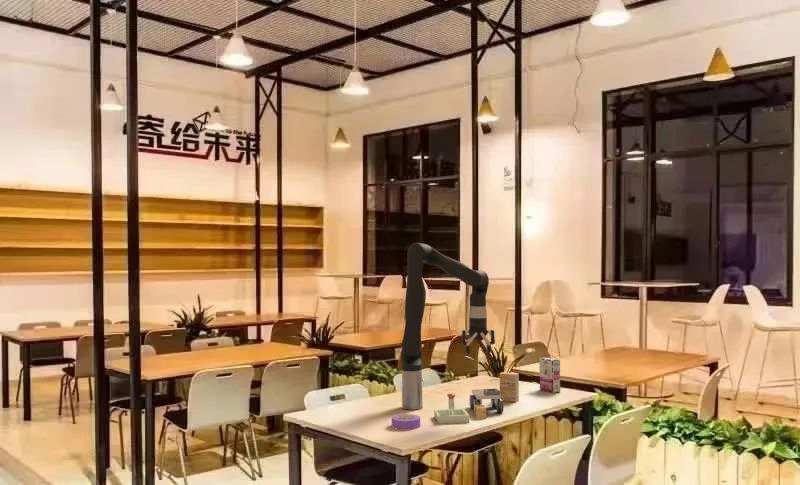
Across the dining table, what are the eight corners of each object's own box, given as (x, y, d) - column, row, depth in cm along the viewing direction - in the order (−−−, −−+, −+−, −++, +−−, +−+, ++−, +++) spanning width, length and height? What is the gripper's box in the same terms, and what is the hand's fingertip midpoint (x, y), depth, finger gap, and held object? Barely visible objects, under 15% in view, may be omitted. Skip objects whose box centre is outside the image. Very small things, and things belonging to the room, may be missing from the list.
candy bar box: (561, 392, 339) (560, 359, 339) (553, 393, 336) (552, 360, 337) (547, 388, 349) (546, 356, 349) (539, 389, 347) (538, 357, 347)
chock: (474, 415, 292) (474, 405, 292) (483, 415, 292) (483, 404, 293) (477, 418, 286) (476, 408, 286) (486, 418, 286) (486, 407, 287)
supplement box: (499, 401, 320) (498, 373, 321) (502, 399, 325) (502, 371, 325) (516, 402, 316) (515, 374, 317) (519, 400, 321) (518, 372, 321)
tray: (438, 423, 278) (438, 416, 278) (434, 416, 290) (434, 409, 290) (469, 422, 279) (469, 415, 279) (464, 415, 291) (464, 408, 291)
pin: (448, 418, 283) (448, 395, 283) (447, 416, 286) (446, 393, 287) (456, 418, 283) (455, 395, 284) (454, 416, 287) (454, 393, 287)
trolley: (476, 414, 293) (476, 392, 293) (469, 406, 309) (469, 385, 309) (503, 413, 294) (503, 392, 294) (495, 406, 310) (495, 385, 310)
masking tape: (426, 426, 275) (426, 416, 276) (406, 431, 267) (406, 422, 267) (405, 421, 283) (405, 412, 284) (385, 427, 275) (385, 417, 275)
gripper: (492, 315, 297) (492, 352, 296) (460, 316, 296) (460, 353, 295) (496, 317, 289) (496, 355, 289) (463, 317, 288) (463, 355, 288)
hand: (478, 354), depth 292 cm, fingers open, 8 cm apart
